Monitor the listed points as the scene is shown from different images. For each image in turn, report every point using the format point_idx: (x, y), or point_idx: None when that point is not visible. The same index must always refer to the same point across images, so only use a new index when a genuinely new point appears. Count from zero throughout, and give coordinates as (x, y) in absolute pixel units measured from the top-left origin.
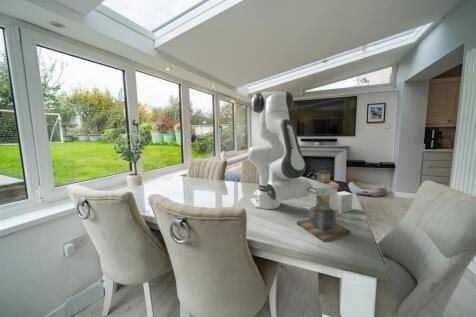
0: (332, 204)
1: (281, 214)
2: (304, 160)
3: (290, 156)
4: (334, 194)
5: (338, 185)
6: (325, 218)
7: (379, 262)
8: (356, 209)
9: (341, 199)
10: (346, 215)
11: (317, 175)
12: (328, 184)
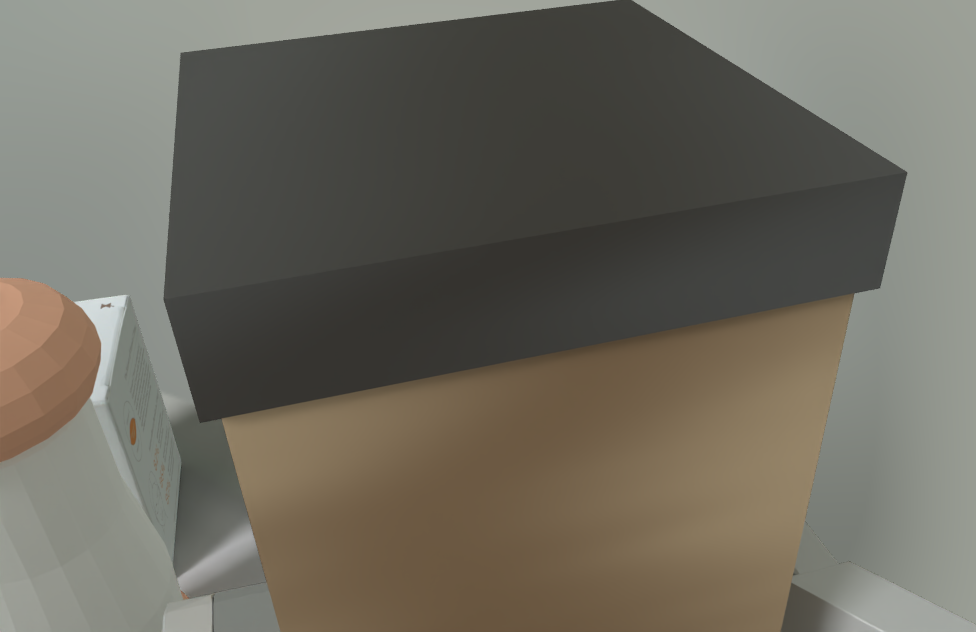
0: (150, 621)
1: None
2: None
3: None
4: (105, 474)
5: (69, 299)
6: None
7: None
8: (179, 412)
9: (121, 446)
10: (254, 563)
11: (309, 572)
12: (803, 550)
